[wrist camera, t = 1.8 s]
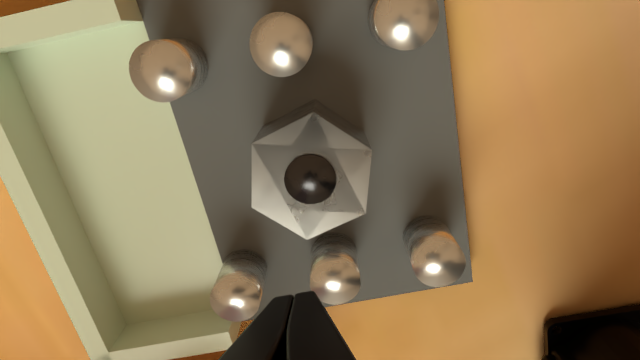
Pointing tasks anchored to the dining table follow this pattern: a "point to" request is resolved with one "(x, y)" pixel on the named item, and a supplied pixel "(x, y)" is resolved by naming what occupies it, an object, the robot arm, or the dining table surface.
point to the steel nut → (310, 170)
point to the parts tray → (106, 185)
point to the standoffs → (281, 61)
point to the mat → (344, 99)
